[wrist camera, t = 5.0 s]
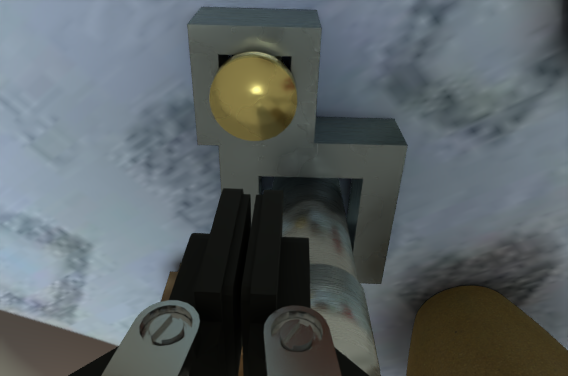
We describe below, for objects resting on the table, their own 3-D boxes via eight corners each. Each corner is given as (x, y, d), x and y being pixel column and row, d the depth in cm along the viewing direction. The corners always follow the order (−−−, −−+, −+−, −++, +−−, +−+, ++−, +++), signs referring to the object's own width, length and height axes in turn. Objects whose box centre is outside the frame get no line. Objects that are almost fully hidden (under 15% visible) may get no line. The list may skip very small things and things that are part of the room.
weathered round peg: (346, 156, 28) (388, 339, 16) (339, 218, 31) (372, 415, 19) (269, 154, 28) (256, 336, 16) (269, 216, 31) (257, 413, 19)
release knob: (297, 32, 24) (299, 59, 20) (294, 104, 26) (295, 141, 22) (220, 30, 24) (206, 56, 19) (223, 102, 26) (212, 140, 22)
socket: (412, 12, 24) (433, 30, 20) (372, 248, 32) (382, 289, 29) (201, 6, 23) (187, 24, 20) (218, 245, 32) (209, 285, 29)
